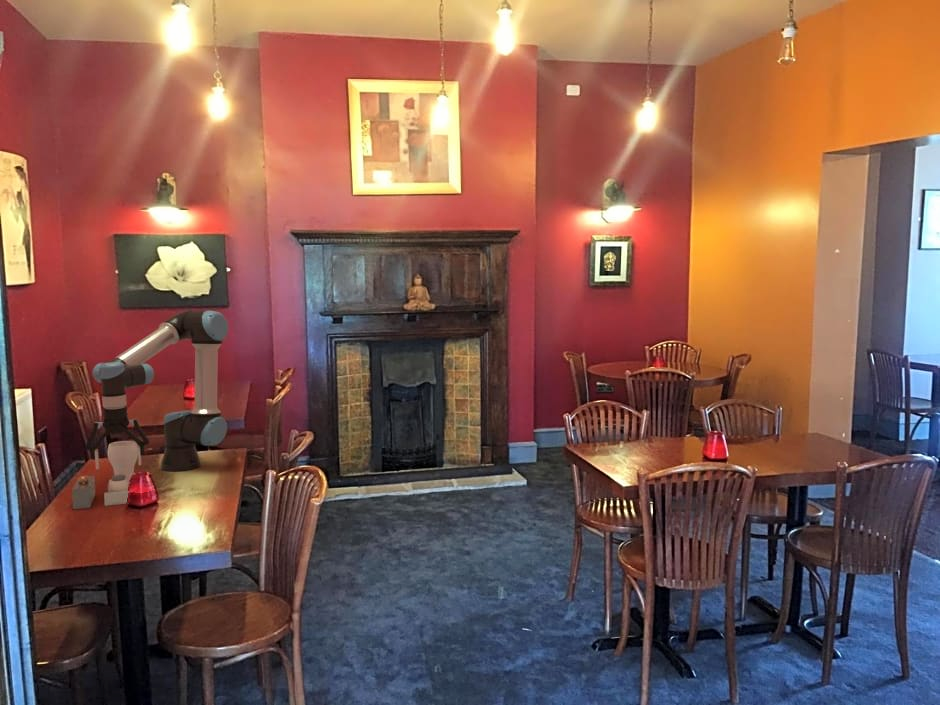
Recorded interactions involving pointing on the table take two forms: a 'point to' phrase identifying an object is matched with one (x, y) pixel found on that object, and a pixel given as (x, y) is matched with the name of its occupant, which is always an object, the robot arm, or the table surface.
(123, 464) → the cup
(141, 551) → the table surface
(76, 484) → the motor bracket
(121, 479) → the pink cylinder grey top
